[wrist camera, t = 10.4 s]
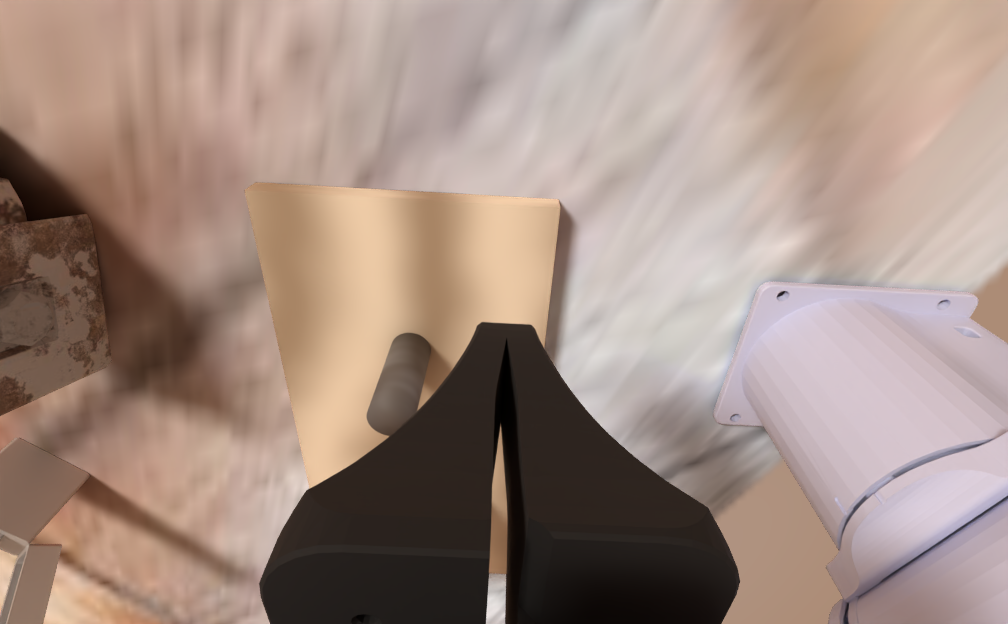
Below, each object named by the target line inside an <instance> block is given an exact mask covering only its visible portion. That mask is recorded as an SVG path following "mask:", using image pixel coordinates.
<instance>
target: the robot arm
mask: <svg viewBox="0 0 1008 624" xmlns="http://www.w3.org/2000/svg"><path fill="white" fill-rule="evenodd" d="M781 291H785V293H784V294H783V295H782V296H780V297H777V295H778V293H780V292H781ZM942 300H943V301H942ZM940 301H942V302H941V303H940V304H938V303H939V302H940ZM937 304H938V305H937ZM977 304H978V298H977V297H976V296H974V295H973V294H971V293H969V292H959V291H940V290H921V289H903V288H884V287H866V286H847V285H828V284H810V283H791V282H773V281H771V282H766V283H764V284H762V285H761V286H760V287H759V288H758V289H757V291H756V294H755V297H754V300H753V302H752V305H751V308H750V311H749V314H748V316H747V319H746V322H745V325H744V327H743V330H742V333H741V336H740V339H739V341H738V344H737V347H736V350H735V353H734V355H733V358H732V361H731V364H730V367H729V369H728V372H727V375H726V378H725V381H724V383H723V386H722V389H721V392H720V394H719V397H718V400H717V403H716V406H715V408H714V411H713V416H714V418H715V420H716V422H718V423H720V424H731V425H752V426H764V428H765V429H766V431H767V433H768V434H769V436H770V438H771V439H772V441H773V443H774V444H775V446H776V448H777V449H778V451H779V453H780V454H781V456H782V457H783V459H784V461H785V462H786V464H787V466H788V467H789V469H790V471H791V472H792V474H793V475H794V477H795V479H796V480H797V482H798V484H799V486H800V487H801V489H802V490H803V492H804V494H805V495H806V497H807V499H808V500H809V502H810V504H811V505H812V507H813V509H814V510H815V512H816V513H817V515H818V517H819V519H820V520H821V522H822V524H823V525H824V527H825V529H826V530H827V532H828V533H829V535H830V537H831V538H832V540H833V542H834V543H835V545H836V547H837V548H838V550H839V552H838V554H837V555H836V557H835V558H834V559H833V560H832V561H831V562H829V563H828V564H827V565H826V569H827V570H828V572H829V574H830V576H831V577H832V579H833V581H834V583H835V584H836V586H837V588H838V590H839V592H840V593H841V595H842V597H843V599H841V600H840V601H838V602H837V603H836V604H835V605H834V606H833V608H832V610H831V612H830V614H829V622H828V624H1008V344H1007V343H1006V342H1005V341H1003V340H1002V339H1000V338H999V337H997V336H996V335H994V334H993V333H991V332H989V331H988V330H987V329H985V328H983V327H982V326H981V325H979V324H978V323H976V322H975V321H973V320H972V319H970V316H971V315H972V313H973V312H974V310H975V308H976V307H977ZM734 414H736V415H735V416H732V415H734ZM500 426H501V433H502V446H503V459H504V472H505V485H506V498H507V570H506V615H505V624H721V623H722V621H723V619H724V617H725V616H726V613H727V612H728V610H729V608H730V606H731V604H732V602H733V600H734V598H735V596H736V594H737V590H738V587H739V583H740V579H739V574H738V569H737V566H736V564H735V561H734V559H733V556H732V554H731V551H730V549H729V547H728V545H727V543H726V540H725V539H724V537H723V535H722V533H721V531H720V529H719V527H718V525H717V523H716V522H715V520H714V518H713V516H712V514H711V513H710V511H709V509H708V508H707V507H706V506H704V505H703V504H701V503H700V502H698V501H697V500H695V499H693V498H692V497H690V496H689V495H687V494H686V493H684V492H683V491H681V490H679V489H678V488H676V487H675V486H673V485H672V484H670V483H669V482H667V481H666V480H664V479H663V478H661V477H660V476H659V475H657V474H656V473H655V472H653V471H652V470H651V469H649V468H648V467H647V466H645V465H644V464H643V463H641V462H640V461H639V460H638V459H636V458H635V457H634V456H633V455H632V454H630V453H629V452H628V451H627V450H626V449H625V448H624V447H623V446H621V445H620V444H619V443H618V442H617V441H616V440H615V439H614V438H612V437H611V436H610V435H609V434H608V433H607V432H606V431H605V430H604V429H603V428H602V427H601V426H600V425H599V424H598V423H597V421H596V420H595V419H594V418H593V417H592V416H591V415H590V414H589V413H588V411H587V410H586V409H585V408H584V407H583V405H582V404H581V403H580V402H579V400H578V399H577V398H576V397H575V395H574V394H573V393H572V391H571V390H570V389H569V387H568V386H567V384H566V383H565V382H564V380H563V379H562V377H561V376H560V374H559V372H558V371H557V369H556V368H555V366H554V365H553V363H552V361H551V360H550V358H549V356H548V355H547V353H546V351H545V349H544V347H543V345H542V343H541V341H540V339H539V337H538V335H537V332H536V330H535V328H534V327H533V326H532V325H530V324H510V323H491V322H481V323H480V324H478V325H477V327H476V330H475V332H474V335H473V337H472V339H471V341H470V343H469V344H468V346H467V348H466V350H465V351H464V353H463V354H462V356H461V357H460V359H459V360H458V362H457V363H456V365H455V367H454V368H453V369H452V371H451V372H450V373H449V375H448V376H447V377H446V379H445V380H444V381H443V382H442V384H441V385H440V386H439V387H438V389H437V390H436V391H435V392H434V394H433V395H432V396H431V397H430V398H429V399H428V400H427V401H426V402H425V404H424V405H423V406H422V407H421V408H420V409H419V410H418V411H417V412H416V413H415V414H414V415H413V416H412V417H411V418H410V419H408V420H407V421H406V422H405V423H404V424H403V425H402V426H401V427H400V428H399V429H397V430H396V431H395V432H394V433H393V434H392V435H390V436H389V437H388V438H387V439H386V440H384V441H383V442H382V443H380V444H379V445H378V446H376V447H375V448H373V449H372V450H371V451H369V452H368V453H367V454H365V455H364V456H363V457H361V458H360V459H358V460H357V461H356V462H354V463H353V464H351V465H350V466H348V467H346V468H345V469H343V470H341V471H340V472H338V473H336V474H335V475H333V476H331V477H329V478H328V479H326V480H324V481H323V482H321V483H319V484H317V485H316V486H314V487H312V488H310V489H308V490H307V491H306V492H305V493H304V495H303V496H302V498H301V500H300V501H299V503H298V504H297V506H296V508H295V509H294V511H293V512H292V514H291V516H290V518H289V519H288V521H287V522H286V524H285V526H284V528H283V529H282V531H281V533H280V535H279V537H278V539H277V542H276V544H275V547H274V549H273V551H272V554H271V556H270V558H269V561H268V563H267V565H266V568H265V570H264V573H263V575H262V578H261V580H260V583H259V585H260V594H261V599H262V602H263V605H264V607H265V610H266V613H267V616H268V619H269V622H270V624H486V610H487V594H488V579H489V563H490V543H491V515H492V483H493V476H494V469H495V462H496V455H497V448H498V440H499V433H500Z"/></svg>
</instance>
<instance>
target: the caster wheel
mask: <svg viewBox="0 0 1008 624" xmlns="http://www.w3.org/2000/svg"><path fill="white" fill-rule="evenodd" d="M111 361H112V360H111V353H110V345H109V338H108V331H107V324H106V316H105V309H104V302H103V295H102V287H101V280H100V273H99V266H98V258H97V251H96V244H95V237H94V232H93V227H92V224H91V221H90V219H89V217H88V215H87V214H82V215H75V216H67V217H59V218H52V219H44V220H36V221H29V222H27V217H26V213H25V211H24V208H23V205H22V202H21V201H20V199H19V197H18V195H17V194H16V192H15V190H14V189H13V187H12V185H11V184H10V182H9V180H8V179H3V178H0V416H1V415H3V414H5V413H8V412H10V411H12V410H14V409H16V408H19V407H21V406H23V405H25V404H27V403H29V402H32V401H34V400H36V399H38V398H40V397H42V396H45V395H47V394H49V393H51V392H53V391H55V390H58V389H60V388H62V387H64V386H66V385H69V384H71V383H73V382H75V381H77V380H79V379H82V378H84V377H86V376H88V375H90V374H92V373H95V372H97V371H99V370H101V369H103V368H106V367H107V365H108V364H109V363H110V362H111Z"/></svg>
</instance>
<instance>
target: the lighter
mask: <svg viewBox="0 0 1008 624" xmlns="http://www.w3.org/2000/svg"><path fill="white" fill-rule="evenodd" d="M89 477H90V475H89V473H87V472H85V471H83V470H81V469H79V468H77V467H75V466H73V465H71V464H69V463H67V462H65V461H63V460H61V459H59V458H57V457H56V456H54V455H52V454H50V453H48V452H46V451H44V450H42V449H40V448H38V447H36V446H34V445H32V444H30V443H28V442H26V441H24V440H22V439H20V438H15V439H13V440H12V441H11V442H10V443H9V444H8V445H7V446H5V447H4V448H3V449H2V450H1V451H0V549H1V550H3V551H5V552H8V553H10V554H12V555H18V557H17V559H16V562H15V565H14V569H13V572H12V575H11V579H10V582H9V586H8V589H7V593H6V596H5V599H4V603H3V606H2V610H1V613H0V624H43V622H44V617H45V613H46V609H47V605H48V601H49V597H50V593H51V589H52V585H53V580H54V576H55V572H56V568H57V564H58V560H59V556H60V552H61V548H62V545H61V544H30V543H31V541H32V540H33V539H34V538H35V537H36V536H37V535H38V534H39V533H40V531H41V530H42V529H43V528H44V527H45V526H46V525H47V524H48V523H49V522H50V520H51V519H52V518H53V517H54V516H55V515H56V514H57V513H58V512H59V510H60V509H61V508H62V507H63V506H64V505H65V504H66V503H67V502H68V500H69V499H70V498H71V497H72V496H73V495H74V494H75V493H76V492H77V490H78V489H79V488H80V487H81V486H82V485H83V484H84V483H85V482H86V480H87V479H88V478H89Z"/></svg>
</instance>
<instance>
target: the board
mask: <svg viewBox="0 0 1008 624" xmlns="http://www.w3.org/2000/svg"><path fill="white" fill-rule="evenodd" d="M245 195H246V200H247V204H248V209H249V213H250V218H251V222H252V227H253V232H254V236H255V241H256V245H257V250H258V254H259V259H260V264H261V268H262V273H263V277H264V282H265V286H266V291H267V296H268V300H269V305H270V309H271V314H272V318H273V323H274V328H275V332H276V337H277V341H278V346H279V350H280V355H281V360H282V364H283V369H284V373H285V378H286V382H287V387H288V392H289V396H290V401H291V405H292V410H293V414H294V419H295V424H296V428H297V433H298V437H299V442H300V446H301V451H302V456H303V460H304V465H305V469H306V474H307V478H308V483H309V488H312V487H314V486H316V485H317V484H319V483H321V482H323V481H324V480H326V479H328V478H329V477H331V476H333V475H335V474H336V473H338V472H340V471H341V470H343V469H345V468H346V467H348V466H350V465H351V464H353V463H354V462H356V461H357V460H358V459H360V458H361V457H363V456H364V455H365V454H367V453H368V452H369V451H371V450H372V449H373V448H375V447H376V446H378V445H379V444H380V443H382V442H383V441H384V440H386V439H387V438H388V437H389V436H390V435H392V434H393V433H394V432H395V431H396V430H397V429H399V428H400V427H401V426H402V425H403V424H404V423H405V422H406V421H407V420H408V419H410V418H411V417H412V416H413V415H414V414H415V413H416V412H417V411H418V410H419V409H420V408H421V407H422V406H423V405H424V404H425V402H426V401H427V400H428V399H429V398H430V397H431V396H432V395H433V394H434V392H435V391H436V390H437V389H438V387H439V386H440V385H441V384H442V382H443V381H444V380H445V379H446V377H447V376H448V375H449V373H450V372H451V371H452V369H453V368H454V367H455V365H456V363H457V362H458V360H459V359H460V357H461V356H462V354H463V353H464V351H465V350H466V348H467V346H468V344H469V343H470V341H471V339H472V337H473V335H474V332H475V330H476V327H477V325H478V324H480V323H481V322H491V323H510V324H530V325H532V326H533V327H534V328H535V330H536V332H537V335H538V337H539V339H540V341H541V343H542V345H543V347H544V346H545V337H546V328H547V320H548V311H549V303H550V294H551V285H552V277H553V268H554V260H555V251H556V242H557V234H558V225H559V216H560V204H559V200H558V199H543V198H525V197H507V196H489V195H471V194H454V193H436V192H418V191H400V190H382V189H364V188H347V187H329V186H311V185H293V184H275V183H257V182H256V183H254V184H253V185H251V186H250V187H248V188H247V189H246V190H245ZM506 570H507V498H506V485H505V472H504V459H503V446H502V433H501V426H500V433H499V440H498V448H497V455H496V462H495V469H494V476H493V483H492V515H491V543H490V563H489V573H499V574H506Z"/></svg>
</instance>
